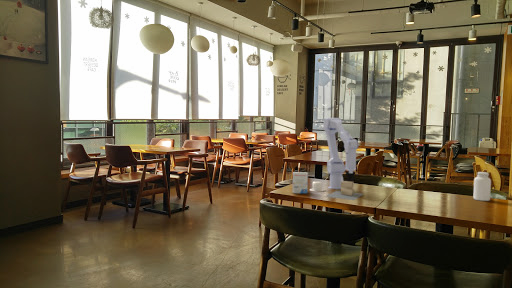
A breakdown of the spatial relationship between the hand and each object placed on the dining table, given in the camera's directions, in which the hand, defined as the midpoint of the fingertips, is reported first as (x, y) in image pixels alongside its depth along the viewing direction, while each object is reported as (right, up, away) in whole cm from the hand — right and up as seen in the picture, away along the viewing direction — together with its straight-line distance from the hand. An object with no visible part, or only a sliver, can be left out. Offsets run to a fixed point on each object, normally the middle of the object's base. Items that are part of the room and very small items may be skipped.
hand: (350, 184), depth 223 cm
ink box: (-29, -5, 0) cm, 29 cm away
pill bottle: (+69, -8, -11) cm, 71 cm away
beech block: (-3, -5, -4) cm, 7 cm away
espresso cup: (-18, -5, +8) cm, 20 cm away
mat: (-5, -6, -8) cm, 11 cm away
